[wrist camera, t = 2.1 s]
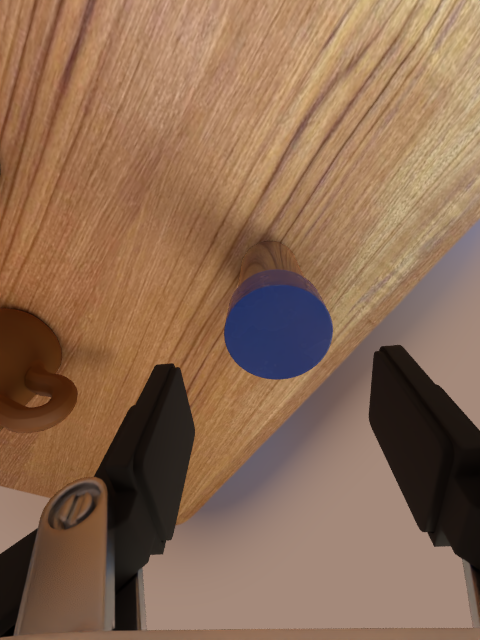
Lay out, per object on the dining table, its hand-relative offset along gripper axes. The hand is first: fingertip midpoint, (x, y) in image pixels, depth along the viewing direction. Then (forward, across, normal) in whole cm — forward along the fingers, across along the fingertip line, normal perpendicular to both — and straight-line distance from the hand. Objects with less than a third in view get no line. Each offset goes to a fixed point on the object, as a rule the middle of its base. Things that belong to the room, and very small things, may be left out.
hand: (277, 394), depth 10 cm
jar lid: (+4, 0, 0) cm, 4 cm away
